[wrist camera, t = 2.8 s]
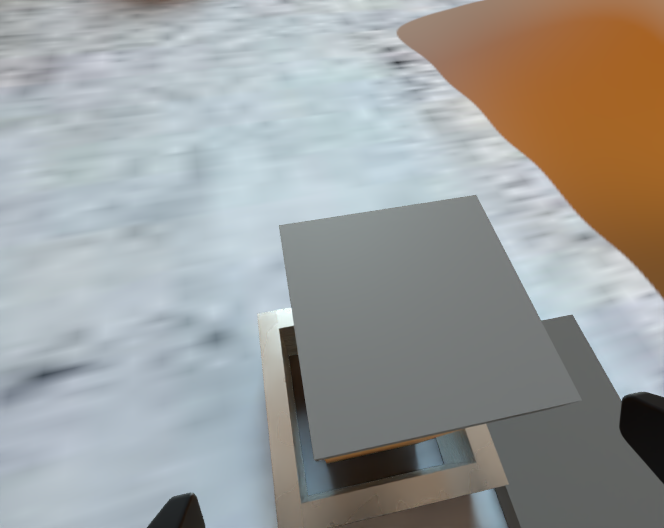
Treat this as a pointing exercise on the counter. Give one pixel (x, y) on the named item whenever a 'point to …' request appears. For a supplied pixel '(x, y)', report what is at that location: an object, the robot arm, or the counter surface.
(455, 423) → the grey capped orange post
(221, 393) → the counter surface
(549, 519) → the rubber mat
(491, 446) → the socket
